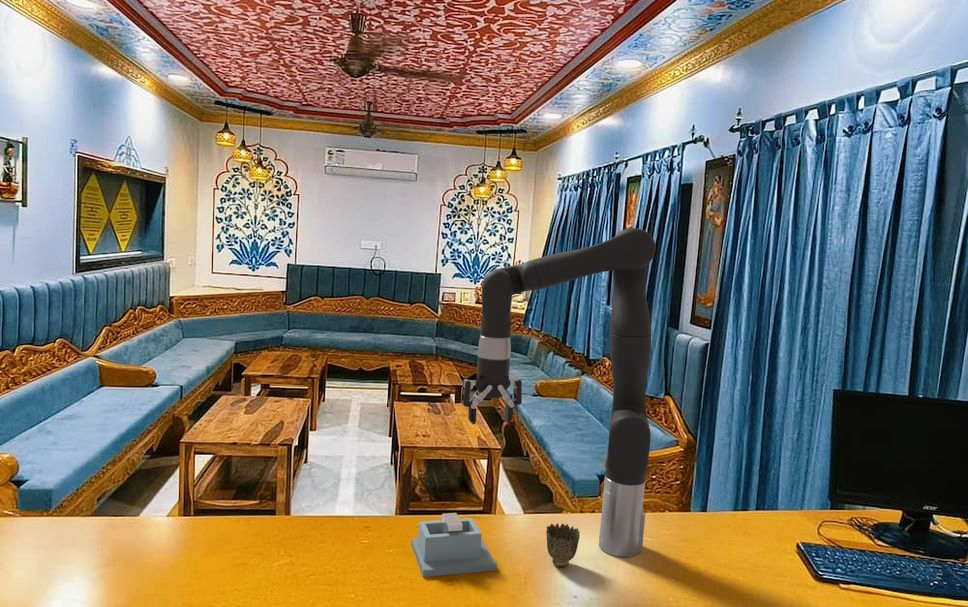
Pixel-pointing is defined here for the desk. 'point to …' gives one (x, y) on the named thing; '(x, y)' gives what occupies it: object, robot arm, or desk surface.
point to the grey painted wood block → (450, 523)
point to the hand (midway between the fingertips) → (490, 422)
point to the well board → (451, 550)
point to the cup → (562, 543)
